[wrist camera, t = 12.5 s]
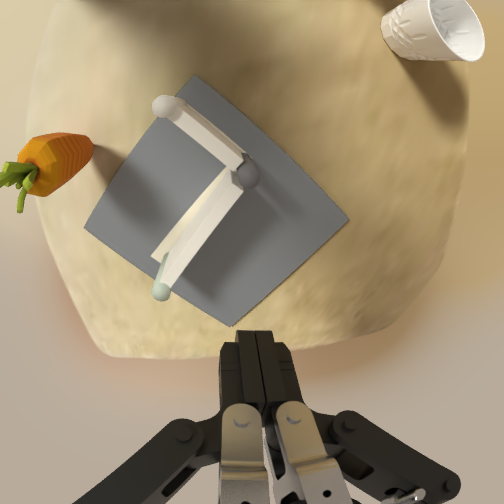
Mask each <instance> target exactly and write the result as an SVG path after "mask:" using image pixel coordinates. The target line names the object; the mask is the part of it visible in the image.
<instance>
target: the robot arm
mask: <svg viewBox="0 0 504 504" xmlns="http://www.w3.org/2000/svg"><path fill="white" fill-rule="evenodd" d="M219 396H220V411H219V412H218V413H217V414H216V415H215V416H214V417H212V418H210V419H207V420H203V421H200V422H194V421H192V420H189V419H176V420H173V421H171V422H170V423H169V424H167V426H165V427H164V428H163V429H162V430H161V431H160V432H159V433H157V434H156V435H155V436H154V437H153V438H152V439H151V440H150V441H149V442H147V443H146V444H145V445H144V446H143V447H142V448H141V449H140V450H138V451H137V452H136V453H135V454H134V455H133V456H132V457H130V458H129V459H128V460H127V461H126V462H124V463H123V464H122V465H121V466H120V467H118V468H117V469H116V470H115V471H114V472H112V473H111V474H110V475H109V476H107V477H106V478H105V479H104V480H102V481H101V482H100V483H99V484H97V485H96V486H95V487H94V488H92V489H91V490H90V491H88V492H87V493H86V494H85V495H83V496H82V497H81V498H79V499H78V500H77V501H75V502H74V503H72V504H165V503H166V502H167V501H168V500H170V499H171V498H172V497H173V496H174V494H176V493H177V492H178V491H179V490H180V489H181V488H182V487H183V486H184V485H185V484H186V483H187V482H188V480H190V479H191V478H192V477H193V476H194V475H195V474H196V472H197V471H198V470H199V469H200V468H201V467H203V466H207V465H211V464H214V463H218V462H219V484H218V504H270V497H269V482H268V473H267V470H266V468H265V466H264V455H263V439H262V427H265V433H266V436H265V439H264V445H265V449H266V453H267V457H268V461H269V465H270V469H271V473H272V477H273V493H274V498H275V501H276V504H361V503H360V502H358V501H357V500H354V499H352V498H351V497H350V494H349V492H348V489H347V486H346V483H345V481H344V479H345V480H347V481H348V482H350V483H351V484H353V485H354V486H356V487H357V488H359V489H361V490H362V491H364V492H365V493H367V494H369V495H370V496H372V497H373V498H375V499H377V500H378V501H380V502H381V504H442V503H444V502H447V501H449V500H451V499H453V498H454V497H455V496H457V494H458V493H459V491H460V488H461V482H460V478H459V477H458V475H457V474H456V473H454V472H452V471H450V470H449V469H447V468H445V467H443V466H441V465H440V464H438V463H436V462H434V461H433V460H431V459H429V458H428V457H426V456H424V455H422V454H421V453H419V452H418V451H416V450H414V449H412V448H411V447H409V446H408V445H406V444H404V443H403V442H401V441H400V440H398V439H396V438H395V437H393V436H392V435H390V434H389V433H387V432H385V431H384V430H382V429H381V428H379V427H378V426H376V425H375V424H373V423H372V422H370V421H369V420H367V419H366V418H364V417H363V416H362V415H360V414H358V413H357V412H354V411H349V410H346V411H343V412H340V413H338V414H337V415H336V416H334V415H327V414H321V413H317V412H314V411H313V410H311V409H310V408H308V407H307V406H306V404H305V403H304V401H303V399H302V395H301V391H300V387H299V383H298V379H297V376H296V372H295V368H294V364H293V360H292V357H291V353H290V350H289V349H288V348H287V347H286V345H285V344H284V343H283V342H274V338H273V333H272V331H248V330H237V331H236V337H235V342H225V343H224V344H223V346H222V348H221V350H220V359H219Z"/></svg>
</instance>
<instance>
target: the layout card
mask: <svg viewBox="0 0 504 504" xmlns="http://www.w3.org/2000/svg"><path fill="white" fill-rule="evenodd" d="M175 97H178V98H182V99H184V100H185V101H186V102H187V107H189V108H190V109H191V110H192V111H194V112H195V113H196V114H197V115H199V116H200V117H201V118H202V119H204V120H205V121H206V122H207V123H208V124H210V125H211V126H212V127H213V128H215V129H216V130H217V131H218V132H219V133H221V134H222V135H223V136H224V137H225V138H226V139H228V140H229V141H230V142H231V143H232V144H233V145H235V146H236V147H237V148H238V149H239V150H240V152H241V153H247V154H248V155H249V156H250V157H251V159H252V161H253V163H254V165H255V167H256V169H257V171H258V173H259V175H260V181H259V184H258V185H257V186H256V187H254V188H252V189H246V188H244V187H243V190H244V192H243V193H242V194H241V195H240V197H239V198H238V199H237V200H236V202H235V203H234V204H233V205H232V207H231V208H230V209H229V211H228V212H227V213H226V214H225V216H224V217H223V218H222V220H221V221H220V222H219V224H218V225H217V226H216V227H215V229H214V230H213V231H212V233H211V234H210V235H209V237H208V238H207V239H206V241H205V242H204V243H203V245H202V246H201V247H200V249H199V250H198V251H197V253H196V254H195V255H194V257H193V258H192V259H191V261H190V262H189V263H188V265H187V266H186V267H185V269H184V270H183V272H182V273H181V274H180V276H179V277H178V278H177V280H176V281H175V283H174V284H173V285H172V288H171V291H172V292H174V293H176V294H177V295H179V296H180V297H182V298H183V299H185V300H186V301H188V302H189V303H191V304H193V305H194V306H196V307H197V308H199V309H201V310H202V311H204V312H205V313H207V314H209V315H210V316H212V317H214V318H215V319H217V320H218V321H220V322H222V323H223V324H225V325H227V326H228V327H231V326H232V325H233V324H234V323H235V322H237V321H238V320H239V319H240V318H241V317H242V316H244V315H245V314H246V313H247V312H248V311H249V310H251V309H252V308H253V307H254V306H255V305H256V304H257V303H259V302H260V301H261V300H262V299H263V298H264V297H265V296H267V295H268V294H269V293H270V292H271V291H272V290H273V289H274V288H276V287H277V286H278V285H279V284H280V283H281V282H282V281H283V280H284V279H286V278H287V277H288V276H289V275H290V274H291V273H292V272H293V271H294V270H296V269H297V268H298V267H299V266H300V265H301V264H302V263H303V262H304V261H305V260H306V259H308V258H309V257H310V256H311V255H312V254H313V253H314V252H315V251H316V250H317V249H318V248H319V247H320V246H322V245H323V244H324V243H325V242H326V241H327V240H328V239H329V238H330V237H331V236H332V235H333V234H334V233H335V232H336V231H337V230H338V229H340V228H341V227H342V226H343V225H344V224H345V223H346V222H347V221H348V220H349V218H348V217H347V216H346V215H345V214H344V213H343V211H342V210H341V209H340V208H339V207H338V206H337V205H336V204H335V203H334V202H333V201H332V199H331V198H330V197H329V196H328V195H327V194H326V193H325V192H324V191H323V190H322V189H321V188H320V187H319V186H318V185H317V184H316V183H315V182H314V180H313V179H312V178H311V177H310V176H309V175H308V174H307V173H306V172H305V171H304V170H303V169H302V168H301V167H300V166H299V165H298V164H297V163H296V162H295V161H294V160H293V159H292V158H291V157H290V156H288V155H287V154H286V153H285V152H284V151H283V150H282V149H281V148H280V147H279V146H278V145H277V144H276V143H275V142H274V141H273V140H272V139H271V138H269V137H268V136H267V135H266V134H265V133H264V132H263V131H262V130H261V129H260V128H259V127H257V126H256V125H255V124H254V123H253V122H252V121H251V120H250V119H248V118H247V117H246V116H245V115H244V114H243V113H242V112H240V111H239V110H238V109H237V108H236V107H235V106H233V105H232V104H231V103H230V102H229V101H227V100H226V99H225V98H224V97H223V96H221V95H220V94H219V93H218V92H217V91H215V90H214V89H213V88H212V87H210V86H209V85H208V84H207V83H205V82H204V81H203V80H201V79H200V78H199V77H198V76H196V75H194V76H193V77H192V78H191V79H190V80H189V81H188V82H187V83H186V85H185V86H184V87H183V88H182V89H181V90H180V91H179V92H178V93H177V95H176V96H175ZM228 170H229V168H228V167H227V166H226V165H225V164H223V163H222V162H221V161H220V160H219V159H217V158H216V157H215V156H214V155H213V154H211V153H210V152H209V151H208V150H207V149H205V148H204V147H203V146H202V145H200V144H199V143H198V142H197V141H196V140H194V139H193V138H192V137H191V136H189V135H188V134H187V133H186V132H184V131H183V130H182V129H181V128H179V127H178V126H177V125H176V124H174V123H173V122H172V121H170V120H169V119H168V118H167V117H166V118H160V117H157V118H156V120H155V121H154V122H153V123H152V125H151V126H150V127H149V128H148V130H147V131H146V132H145V134H144V135H143V136H142V138H141V139H140V140H139V142H138V143H137V144H136V146H135V147H134V148H133V150H132V151H131V153H130V154H129V155H128V157H127V158H126V160H125V161H124V163H123V164H122V166H121V167H120V169H119V170H118V172H117V173H116V175H115V176H114V178H113V179H112V181H111V182H110V184H109V185H108V187H107V189H106V190H105V192H104V193H103V195H102V197H101V198H100V200H99V202H98V203H97V205H96V207H95V208H94V210H93V212H92V214H91V215H90V217H89V219H88V221H87V223H86V224H85V226H84V229H86V230H87V231H88V232H90V233H91V234H92V235H93V236H95V237H96V238H97V239H99V240H100V241H101V242H103V243H104V244H105V245H107V246H108V247H109V248H111V249H112V250H113V251H115V252H116V253H118V254H119V255H120V256H122V257H123V258H124V259H126V260H127V261H129V262H130V263H131V264H133V265H134V266H136V267H137V268H139V269H140V270H141V271H143V272H144V273H146V274H147V275H149V276H150V277H152V278H153V279H156V276H157V274H158V271H159V268H160V265H161V262H162V259H163V256H164V255H165V254H166V253H168V252H170V250H171V249H172V247H173V246H174V244H175V243H176V241H177V240H178V239H179V237H180V236H181V234H182V233H183V231H184V230H185V228H186V227H187V226H188V224H189V223H190V221H191V220H192V219H193V217H194V216H195V214H196V213H197V212H198V210H199V209H200V207H201V206H202V205H203V203H204V202H205V201H206V199H207V198H208V196H209V195H210V194H211V192H212V191H213V190H214V188H215V187H216V186H217V184H218V183H219V182H220V180H221V179H222V178H223V176H224V175H225V174H226V173H227V171H228ZM234 171H236V172H237V170H236V169H235V170H234Z"/></svg>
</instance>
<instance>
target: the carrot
mask: <svg viewBox="0 0 504 504" xmlns="http://www.w3.org/2000/svg"><path fill="white" fill-rule="evenodd" d="M93 147H94V145H93V143H92V142H91V140H90V139H89V138H88V137H87V136H85V135H79V134H71V133H52V134H46V135H42V136H37V137H34V138H32V139H31V140H30V141H29V142H28V143H27V144H26V146H25V147H24V148H23V149H22V150H21V152H20V153H19V154H18V161H17V162H5V164H4V165H3V169H2V170H3V172H1V173H0V187H2V186H3V185H5V186H7V187H9V186H11V185H13V184H15V183H16V182H17V184H16V188H17V189H20V188H21V187H22V186H23V188H22V190H21V192H20V195H19V197H18V202H17V213H22V212H23V207H24V200H25V197H26V194H32V195H36V196H41V197H46V196H48V195H50V194H51V193H52V192H54V191H55V190H57V189H58V188H60V187H61V186H62V185H64V184H65V183H66V182H68V181H69V180H70V179H71V178H72V177H73V176H74V175H75V174H77V173H78V172H79V171H80V170H81V169H82V168H83V167H84V166H85V165H86V164H87V163H88V162H89V161H90V159H91V157H92V154H93Z"/></svg>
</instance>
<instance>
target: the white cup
mask: <svg viewBox="0 0 504 504" xmlns="http://www.w3.org/2000/svg"><path fill="white" fill-rule="evenodd" d="M380 27H381V31H382V35H383V38H384V40H385V41H386V43H387V44H388V46H389V48H390V49H391V50H392V51H394V52H395V53H396V54H397V55H398V56H400V57H402V58H405V59H408V60H428V61H464V62H475V61H478V60H479V59H480V58H481V57H482V55H483V53H484V49H485V38H484V33H483V29H482V26H481V23H480V21H479V19H478V17H477V15H476V14H475V12H474V11H473V9H472V8H471V6H470V5H469V4H468V3H467V2H466V1H465V0H408V1H406V2H404V3H402V4H400V5H399V6H397V7H396V8H394V9H392V10H390V11H389V12H387V13H386V14H385V15H384V16H383V17H382V21H381V26H380Z"/></svg>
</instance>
